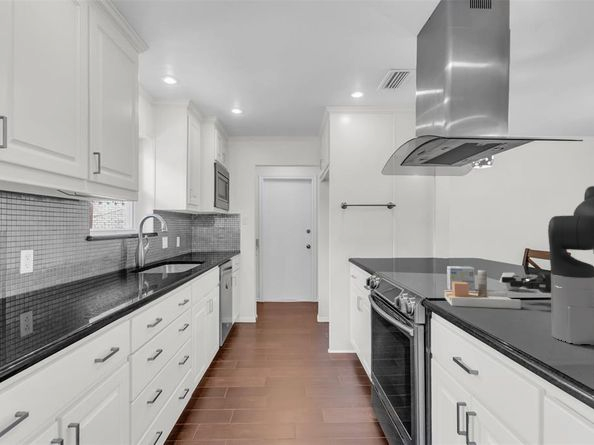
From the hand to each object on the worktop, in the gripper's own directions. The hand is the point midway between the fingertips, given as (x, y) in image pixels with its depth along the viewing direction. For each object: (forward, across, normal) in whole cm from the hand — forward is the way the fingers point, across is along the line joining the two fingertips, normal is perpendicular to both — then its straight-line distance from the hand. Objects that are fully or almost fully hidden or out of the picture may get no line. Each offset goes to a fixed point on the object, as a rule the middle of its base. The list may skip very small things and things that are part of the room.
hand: (506, 281), depth 126 cm
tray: (+9, 0, +8) cm, 13 cm away
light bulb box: (+11, -24, +9) cm, 28 cm away
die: (-11, -28, +9) cm, 31 cm away
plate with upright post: (+14, 0, +7) cm, 15 cm away
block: (+16, 0, +6) cm, 17 cm away
